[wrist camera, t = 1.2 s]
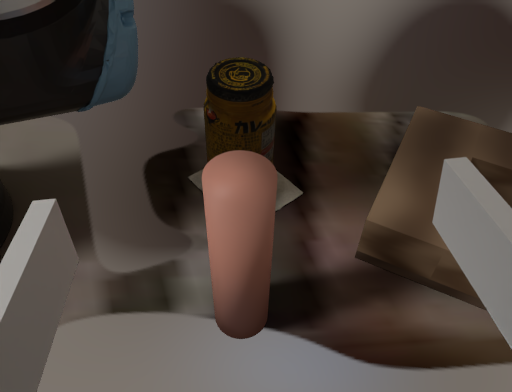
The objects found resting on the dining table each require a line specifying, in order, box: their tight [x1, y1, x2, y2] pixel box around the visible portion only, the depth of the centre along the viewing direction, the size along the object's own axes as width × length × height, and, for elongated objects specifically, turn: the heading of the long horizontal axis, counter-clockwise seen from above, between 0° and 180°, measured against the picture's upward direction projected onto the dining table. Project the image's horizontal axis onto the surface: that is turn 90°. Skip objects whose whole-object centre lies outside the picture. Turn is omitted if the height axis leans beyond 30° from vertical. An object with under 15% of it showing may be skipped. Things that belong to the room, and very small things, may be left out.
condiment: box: [188, 57, 303, 211], centre depth 41 cm, size 7×8×12 cm
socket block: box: [355, 106, 512, 310], centre depth 40 cm, size 18×16×5 cm
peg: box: [202, 150, 278, 339], centre depth 31 cm, size 4×4×15 cm
